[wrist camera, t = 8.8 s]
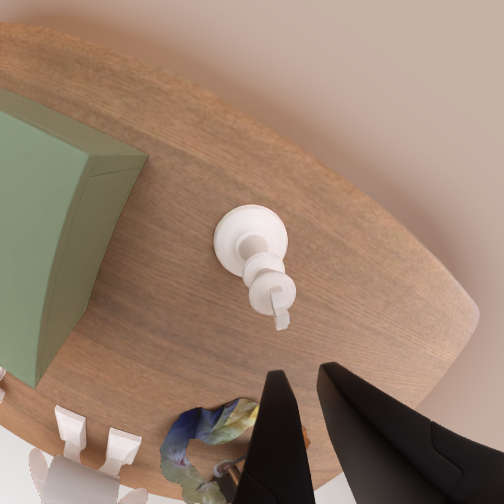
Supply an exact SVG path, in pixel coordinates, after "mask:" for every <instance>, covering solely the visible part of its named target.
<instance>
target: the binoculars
mask: <svg viewBox="0 0 504 504" xmlns="http://www.w3.org/2000/svg"><path fill="white" fill-rule="evenodd" d="M5 373H6V370H5V369H3V368H2V367H1V366H0V381H1V380H2V378H3V377H4V375H5ZM4 394H5V391H4V390H2V389H1V388H0V403H1V401H2V399H3V397H4Z"/></svg>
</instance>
